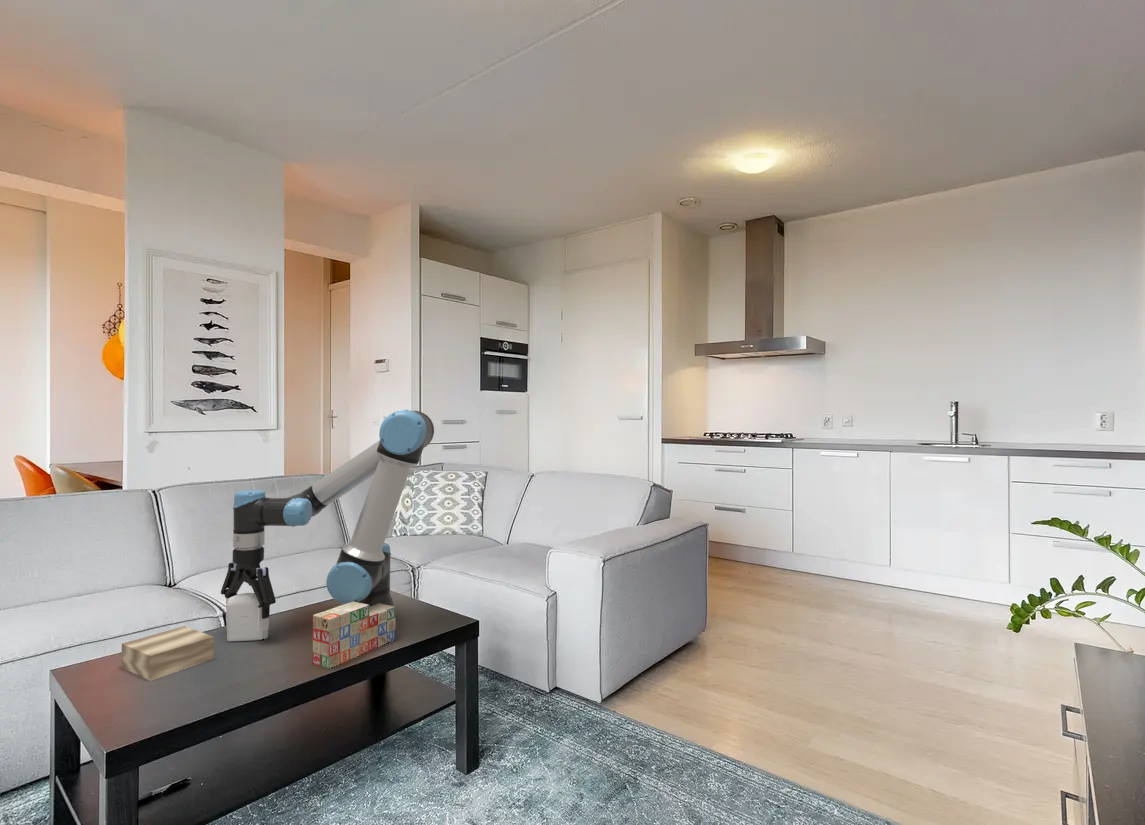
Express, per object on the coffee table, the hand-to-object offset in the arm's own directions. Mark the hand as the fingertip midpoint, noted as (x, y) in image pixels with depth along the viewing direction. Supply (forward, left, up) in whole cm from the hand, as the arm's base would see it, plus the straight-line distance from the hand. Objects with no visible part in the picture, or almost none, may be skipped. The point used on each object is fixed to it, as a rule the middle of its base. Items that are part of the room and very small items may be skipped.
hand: (247, 625), depth 160 cm
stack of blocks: (-33, -8, -4) cm, 34 cm away
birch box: (+2, +19, -4) cm, 19 cm away
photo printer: (0, 0, -4) cm, 4 cm away
